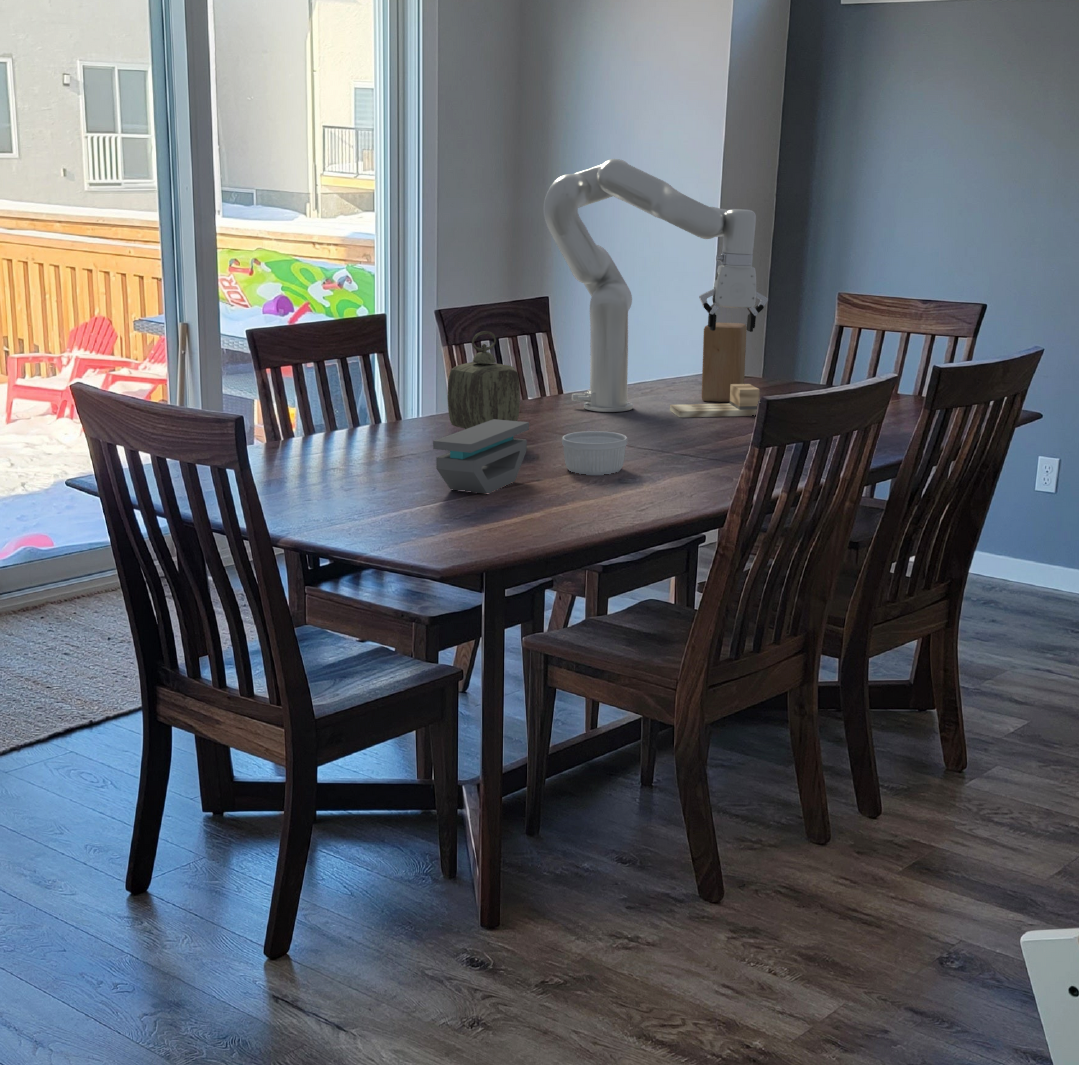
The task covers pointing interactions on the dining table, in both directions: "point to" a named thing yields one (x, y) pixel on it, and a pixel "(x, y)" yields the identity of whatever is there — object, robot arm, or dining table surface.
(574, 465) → the ramekin
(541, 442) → the dining table surface
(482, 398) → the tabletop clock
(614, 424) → the dining table surface
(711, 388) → the wooden block
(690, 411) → the birch plank
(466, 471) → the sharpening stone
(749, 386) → the block
